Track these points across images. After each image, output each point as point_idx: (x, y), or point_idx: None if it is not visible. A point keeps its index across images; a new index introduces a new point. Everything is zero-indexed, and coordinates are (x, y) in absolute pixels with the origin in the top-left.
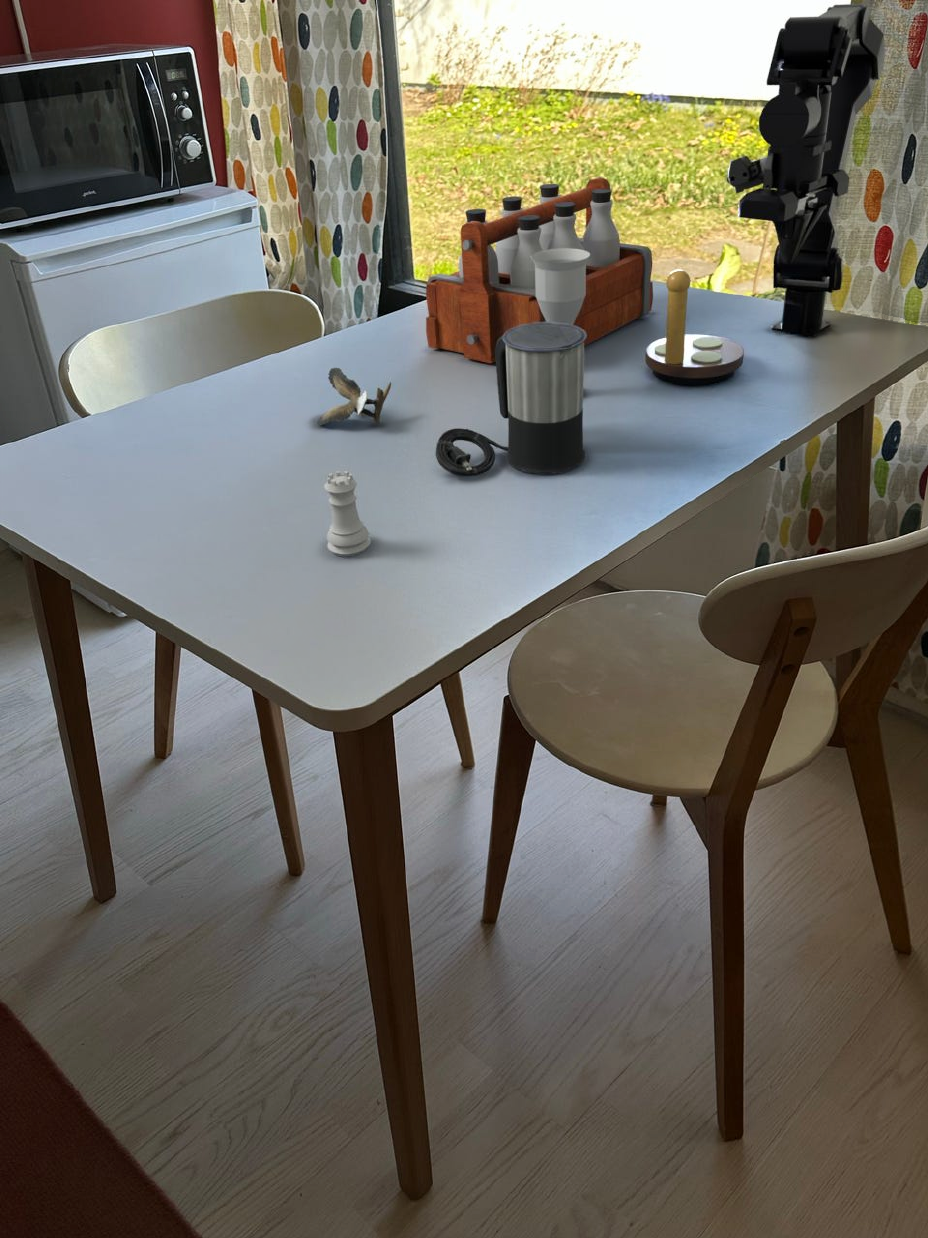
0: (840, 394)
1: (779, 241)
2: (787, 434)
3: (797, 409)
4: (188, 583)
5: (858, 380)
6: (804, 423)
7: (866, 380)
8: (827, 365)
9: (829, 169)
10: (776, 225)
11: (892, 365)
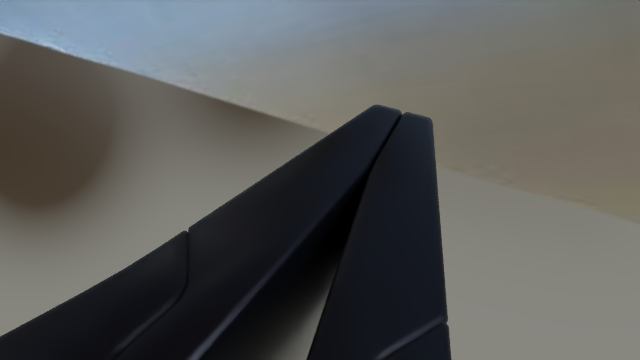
0: (313, 110)
1: (221, 215)
2: (78, 51)
3: (179, 41)
4: None
5: None
6: (136, 69)
7: None
8: (520, 48)
9: None
10: (8, 355)
11: (582, 202)
